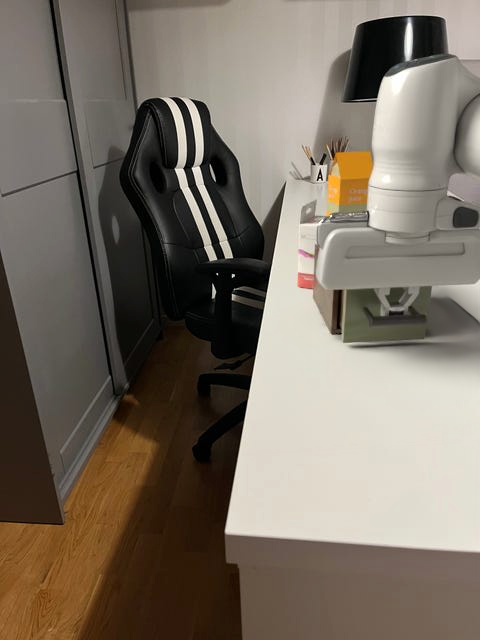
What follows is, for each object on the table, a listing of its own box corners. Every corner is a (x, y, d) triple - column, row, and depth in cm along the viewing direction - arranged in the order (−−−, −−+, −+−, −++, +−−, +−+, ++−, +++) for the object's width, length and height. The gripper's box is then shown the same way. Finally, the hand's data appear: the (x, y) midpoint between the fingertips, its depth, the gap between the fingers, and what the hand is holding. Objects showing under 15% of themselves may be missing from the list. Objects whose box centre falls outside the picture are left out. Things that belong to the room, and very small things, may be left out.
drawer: (438, 355, 65) (447, 299, 62) (351, 359, 64) (355, 303, 61) (392, 303, 81) (397, 256, 78) (323, 306, 81) (325, 259, 78)
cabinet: (415, 330, 74) (423, 268, 70) (330, 334, 73) (334, 272, 69) (384, 295, 87) (389, 241, 83) (312, 298, 87) (314, 244, 83)
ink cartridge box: (322, 291, 90) (326, 208, 84) (296, 287, 92) (298, 206, 86) (336, 276, 97) (340, 199, 91) (311, 273, 99) (314, 198, 93)
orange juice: (325, 233, 127) (329, 151, 119) (357, 231, 129) (363, 149, 121) (337, 241, 120) (341, 154, 112) (371, 238, 122) (378, 152, 114)
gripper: (322, 218, 56) (318, 330, 62) (502, 212, 57) (481, 323, 62) (312, 207, 62) (309, 310, 67) (475, 202, 62) (458, 304, 68)
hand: (393, 317), depth 65 cm, fingers closed, pressing on drawer
